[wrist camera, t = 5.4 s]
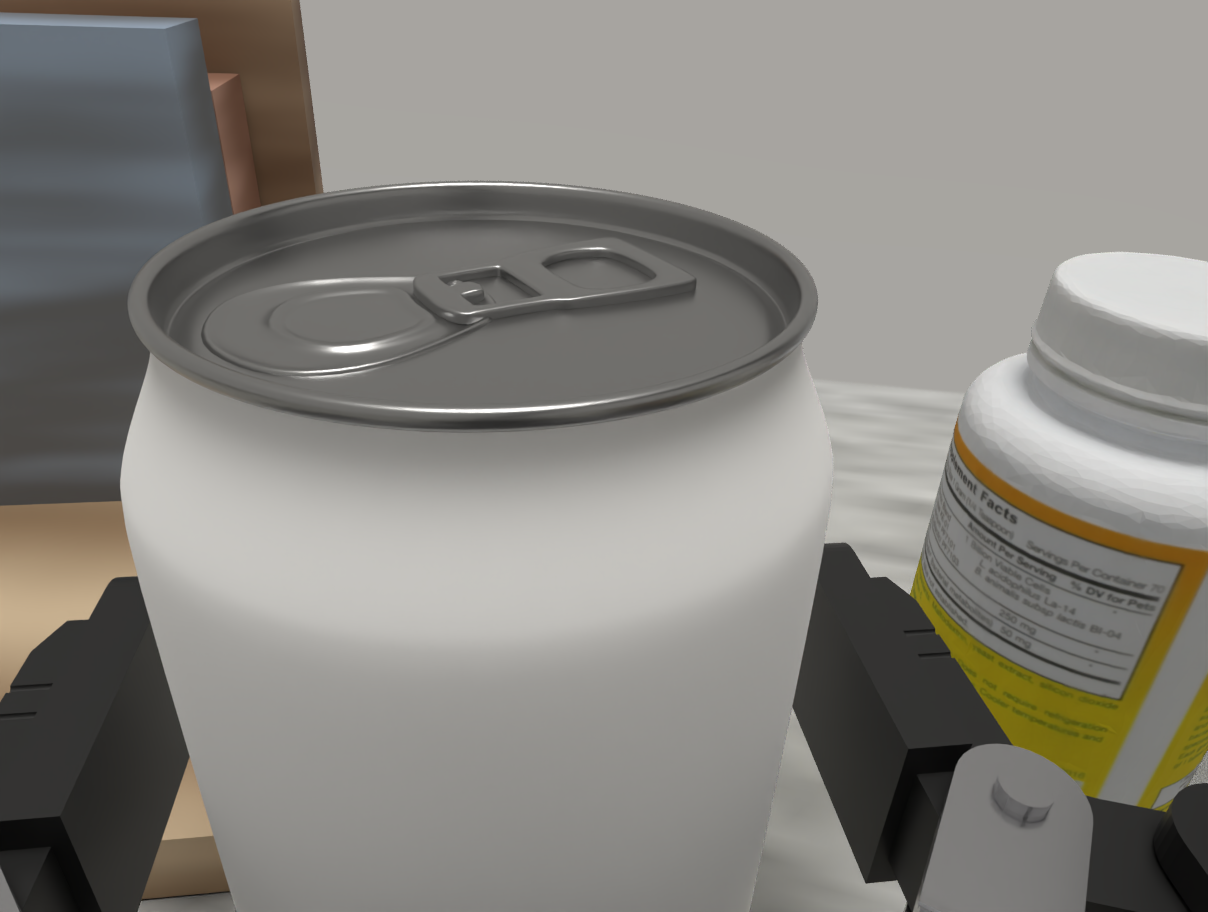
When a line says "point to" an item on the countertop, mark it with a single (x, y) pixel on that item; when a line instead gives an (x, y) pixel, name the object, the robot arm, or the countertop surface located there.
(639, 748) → the can
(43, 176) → the wooden bookend
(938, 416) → the countertop surface
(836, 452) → the countertop surface
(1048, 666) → the supplement bottle
